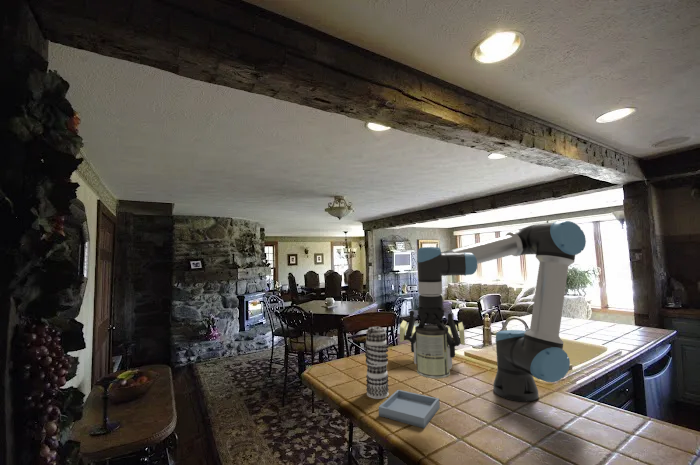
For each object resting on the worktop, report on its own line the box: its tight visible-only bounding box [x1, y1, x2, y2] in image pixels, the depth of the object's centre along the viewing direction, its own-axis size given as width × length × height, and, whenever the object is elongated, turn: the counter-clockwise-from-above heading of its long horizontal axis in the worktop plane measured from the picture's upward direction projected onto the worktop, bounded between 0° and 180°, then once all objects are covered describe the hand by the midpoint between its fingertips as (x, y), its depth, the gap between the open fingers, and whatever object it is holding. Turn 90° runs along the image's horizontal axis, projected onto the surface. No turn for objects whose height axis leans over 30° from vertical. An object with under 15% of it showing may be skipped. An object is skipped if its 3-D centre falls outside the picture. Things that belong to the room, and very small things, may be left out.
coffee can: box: [415, 324, 451, 379], centre depth 104 cm, size 10×10×14 cm
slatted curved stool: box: [399, 319, 466, 346], centre depth 163 cm, size 30×16×18 cm, turn 74°
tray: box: [378, 389, 441, 429], centre depth 110 cm, size 16×16×3 cm
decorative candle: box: [364, 326, 390, 400], centre depth 126 cm, size 9×9×25 cm
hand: (433, 365), depth 104 cm, fingers closed on coffee can, 10 cm apart
